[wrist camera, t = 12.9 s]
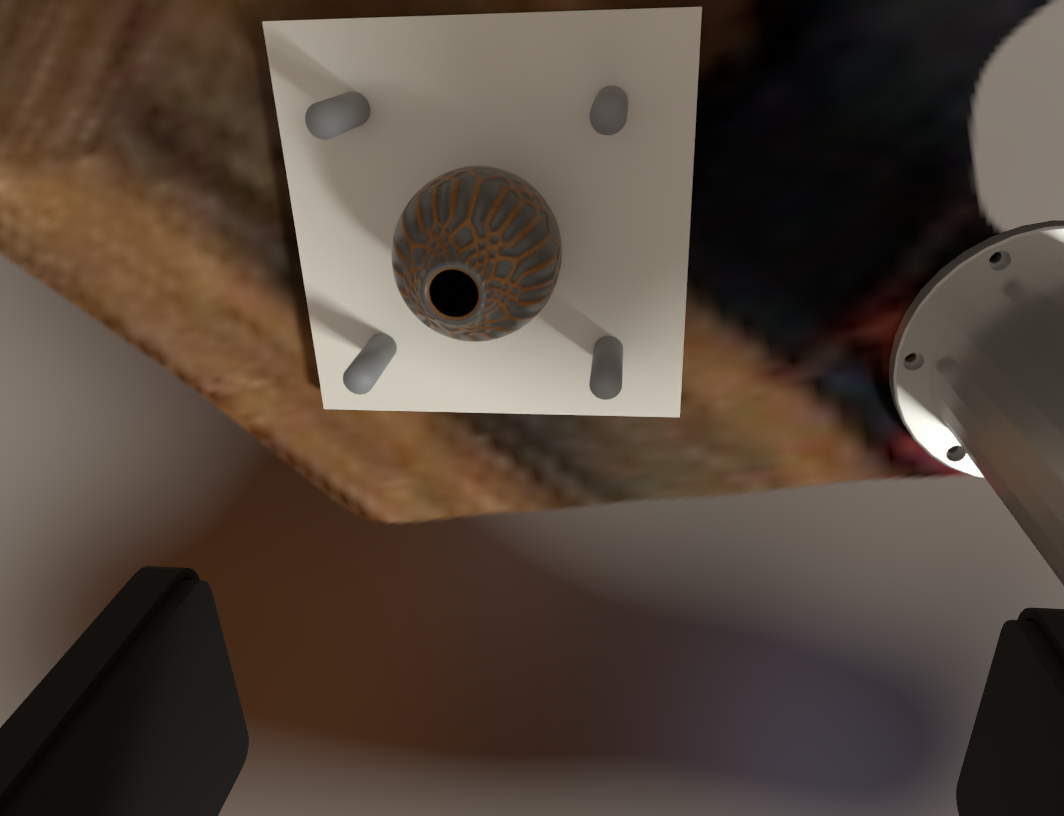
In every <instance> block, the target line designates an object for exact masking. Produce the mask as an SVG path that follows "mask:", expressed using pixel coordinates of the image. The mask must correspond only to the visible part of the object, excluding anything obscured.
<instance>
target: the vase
mask: <svg viewBox="0 0 1064 816" xmlns="http://www.w3.org/2000/svg"><path fill="white" fill-rule="evenodd" d="M561 262H562V242H561V235H560V230H559V226H558V223H557V220H556V218H555V216H554V214H553V212H552V210H551V208H550V206H549V205H548V203H547V202H546V200H545V199H544V198H543V197H542V195H541V194H540V193H539V192H538V191H537V190H536V189H535V188H534V187H533V186H532V185H530V184H529V183H528V182H527V181H525V180H524V179H522V178H520V177H519V176H517V175H515V174H513V173H511V172H508V171H505V170H502V169H499V168H494V167H488V166H467V167H462V168H458V169H454V170H451V171H449V172H446V173H444V174H442V175H440V176H438V177H436V178H434V179H433V180H431V181H430V182H429V183H427V184H426V185H425V186H423V187H422V188H421V189H420V190H419V191H418V192H417V193H416V194H415V195H414V196H413V197H412V199H411V200H410V201H409V202H408V204H407V205H406V207H405V208H404V210H403V212H402V214H401V216H400V218H399V220H398V223H397V225H396V228H395V232H394V236H393V242H392V268H393V274H394V278H395V282H396V285H397V288H398V290H399V293H400V295H401V297H402V299H403V300H404V302H405V303H406V305H407V306H408V308H409V309H410V310H411V312H412V313H413V314H414V315H415V316H416V317H417V318H418V319H419V320H420V321H421V322H422V323H424V324H425V325H426V326H427V327H429V328H430V329H432V330H434V331H436V332H437V333H439V334H442V335H444V336H446V337H449V338H453V339H456V340H461V341H469V342H481V341H489V340H494V339H498V338H501V337H504V336H507V335H509V334H511V333H513V332H515V331H517V330H519V329H520V328H522V327H523V326H525V325H526V324H528V323H529V322H530V321H531V320H532V319H534V318H535V317H536V316H537V315H538V313H539V312H540V311H541V310H542V309H543V308H544V306H545V305H546V304H547V302H548V300H549V299H550V297H551V295H552V293H553V291H554V289H555V286H556V284H557V281H558V277H559V273H560V268H561Z"/></svg>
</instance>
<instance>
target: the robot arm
mask: <svg viewBox="0 0 1064 816" xmlns="http://www.w3.org/2000/svg"><path fill="white" fill-rule="evenodd" d="M996 252H997V256H996V258H995V259H993V260H989V259H990V258H991V256H992V255H993V254H994V253H996ZM911 353H913V355H912V357H910V358H907V359H906V358H905V357H906V356H908V355H909V354H911ZM889 385H890V389H891V394H892V398H893V403H894V406H895V408H896V410H897V412H898V414H899V416H900V418H901V420H902V422H903V424H904V426H905V427H906V428H907V430H908V431H909V433H910V434H911V436H912V437H913V439H914V440H915V441H916V442H917V443H918V444H919V445H920V446H921V447H922V448H923V449H924V450H925V451H926V452H927V453H928V454H929V455H930V456H932V457H933V458H935V459H936V460H938V461H939V462H941V463H942V464H944V465H945V466H947V467H949V468H952V469H954V470H957V471H960V472H962V473H965V474H967V475H970V476H974V477H979V478H984V479H986V480H987V482H988V483H989V484H990V486H991V487H992V489H993V490H994V491H995V493H996V494H997V496H998V497H999V498H1000V499H1001V501H1002V502H1003V504H1004V505H1005V506H1006V508H1007V509H1008V511H1009V512H1010V513H1011V515H1012V516H1013V517H1014V519H1015V520H1016V522H1017V523H1018V524H1019V526H1020V527H1021V528H1022V530H1023V531H1024V532H1025V534H1026V535H1027V537H1028V538H1029V539H1030V541H1031V542H1032V543H1033V545H1034V546H1035V547H1036V549H1037V550H1038V552H1039V553H1040V554H1041V556H1042V557H1043V559H1044V560H1045V561H1046V563H1047V564H1048V565H1049V567H1050V568H1051V569H1052V571H1053V572H1054V574H1055V575H1056V576H1057V577H1058V579H1059V580H1060V582H1061V583H1062V584H1063V586H1064V221H1048V222H1043V223H1036V224H1031V225H1025V226H1021V227H1018V228H1015V229H1012V230H1009V231H1006V232H1003V233H1001V234H998V235H995V236H992V237H990V238H988V239H987V240H985V241H983V242H981V243H979V244H977V245H975V246H973V247H972V248H970V249H968V250H966V251H964V252H963V253H962V254H960V255H959V256H958V257H956V258H955V259H954V260H952V261H951V262H950V263H948V264H947V265H946V266H944V267H943V268H942V269H941V270H940V271H939V272H938V273H937V274H936V275H935V276H934V277H933V278H932V279H931V280H930V281H929V282H928V283H927V284H926V285H925V286H924V287H923V288H922V289H921V290H920V292H919V293H918V295H917V296H916V298H915V299H914V301H913V302H912V304H911V305H910V306H909V308H908V309H907V311H906V312H905V314H904V317H903V319H902V321H901V323H900V326H899V328H898V330H897V332H896V335H895V337H894V342H893V346H892V350H891V355H890V359H889ZM951 447H952V448H951ZM248 746H249V737H248V731H247V727H246V723H245V719H244V715H243V711H242V708H241V704H240V700H239V696H238V692H237V688H236V684H235V680H234V676H233V672H232V668H231V665H230V660H229V656H228V652H227V649H226V645H225V641H224V637H223V633H222V629H221V625H220V621H219V617H218V613H217V609H216V605H215V602H214V598H213V594H212V590H211V588H210V585H209V584H208V583H207V582H206V581H202V580H200V579H199V577H198V575H197V573H196V572H195V571H194V570H193V569H190V568H177V567H156V566H155V567H154V566H147V567H143V568H141V569H140V570H139V571H138V572H137V573H135V574H134V576H133V577H132V578H131V579H130V580H129V581H128V582H127V583H126V585H125V586H124V587H123V588H122V589H121V590H120V591H119V593H118V594H117V595H116V596H115V597H114V599H112V601H111V602H110V603H109V604H108V605H107V606H106V608H105V609H104V610H103V611H102V612H101V613H100V614H99V616H98V617H97V618H96V619H95V620H94V621H93V622H92V624H91V625H90V626H89V627H88V628H87V629H86V630H85V632H84V633H83V634H82V635H81V636H80V637H79V639H78V640H77V641H76V642H75V643H74V644H73V645H72V646H71V648H70V649H69V650H68V651H67V652H66V653H65V654H64V656H63V657H62V658H61V659H60V660H59V661H58V663H57V664H56V665H55V666H54V667H53V668H52V669H51V671H50V672H49V673H48V674H47V675H46V676H45V678H44V679H43V680H42V681H41V682H40V683H39V684H38V686H37V687H36V688H35V689H34V690H33V691H32V692H31V693H30V695H29V696H28V697H27V698H26V699H25V700H24V701H23V703H22V704H21V705H20V706H19V707H18V709H17V710H16V711H15V712H14V713H13V714H12V715H11V717H10V718H9V719H8V720H7V721H6V722H5V723H4V724H3V726H2V727H1V728H0V816H218V814H219V812H220V810H221V808H222V806H223V805H224V803H225V801H226V798H227V797H228V795H229V793H230V791H231V789H232V787H233V785H234V783H235V781H236V779H237V777H238V775H239V773H240V771H241V769H242V767H243V765H244V763H245V760H246V756H247V753H248ZM956 790H957V791H956V799H957V807H958V812H959V816H1064V609H1048V608H1026V609H1024V610H1023V611H1022V612H1021V613H1020V615H1019V617H1018V620H1009V621H1006V622H1005V623H1004V625H1003V627H1002V629H1001V633H1000V636H999V640H998V643H997V647H996V650H995V654H994V657H993V661H992V664H991V668H990V671H989V675H988V678H987V682H986V685H985V689H984V692H983V696H982V699H981V703H980V706H979V710H978V713H977V717H976V720H975V724H974V727H973V731H972V734H971V738H970V741H969V745H968V748H967V752H966V755H965V759H964V762H963V766H962V769H961V773H960V776H959V780H958V783H957V789H956Z"/></svg>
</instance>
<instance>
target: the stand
mask: <svg viewBox="0 0 1064 816" xmlns="http://www.w3.org/2000/svg"><path fill="white" fill-rule="evenodd" d="M701 17H702V7H673V8H643V9H613V10H583V11H553V12H523V13H493V14H463V15H433V16H403V17H373V18H343V19H313V20H282V21H263V22H262V24H263V30H264V36H265V43H266V49H267V55H268V61H269V68H270V74H271V80H272V86H273V93H274V99H275V105H276V111H277V118H278V124H279V130H280V137H281V143H282V149H283V155H284V162H285V168H286V174H287V180H288V187H289V193H290V199H291V205H292V212H293V218H294V224H295V230H296V237H297V243H298V249H299V256H300V262H301V268H302V274H303V281H304V287H305V293H306V299H307V306H308V312H309V318H310V324H311V331H312V337H313V343H314V349H315V356H316V362H317V368H318V375H319V381H320V387H321V393H322V400H323V406H324V409H342V410H385V411H428V412H471V413H514V414H558V415H601V416H644V417H680V402H681V384H682V366H683V347H684V329H685V311H686V292H687V274H688V256H689V237H690V219H691V201H692V182H693V164H694V146H695V127H696V109H697V91H698V72H699V54H700V36H701ZM467 166H488V167H494V168H499V169H502V170H505V171H508V172H511V173H513V174H515V175H517V176H519V177H520V178H522V179H524V180H525V181H527V182H528V183H529V184H530V185H532V186H533V187H534V188H535V189H536V190H537V191H538V192H539V193H540V194H541V195H542V197H543V198H544V199H545V200H546V202H547V203H548V205H549V206H550V208H551V210H552V212H553V214H554V216H555V218H556V220H557V223H558V226H559V230H560V235H561V242H562V262H561V268H560V273H559V277H558V281H557V284H556V286H555V289H554V291H553V293H552V295H551V297H550V299H549V300H548V302H547V304H546V305H545V306H544V308H543V309H542V310H541V311H540V312H539V313H538V315H537V316H536V317H535V318H534V319H532V320H531V321H530V322H529V323H528V324H526V325H525V326H523V327H522V328H520V329H519V330H517V331H515V332H513V333H511V334H509V335H507V336H504V337H501V338H498V339H494V340H489V341H481V342H469V341H461V340H456V339H453V338H449V337H446V336H444V335H442V334H439V333H437V332H436V331H434V330H432V329H430V328H429V327H427V326H426V325H425V324H424V323H422V322H421V321H420V320H419V319H418V318H417V317H416V316H415V315H414V314H413V313H412V312H411V310H410V309H409V308H408V306H407V305H406V303H405V302H404V300H403V299H402V297H401V295H400V293H399V290H398V288H397V285H396V282H395V278H394V274H393V268H392V242H393V236H394V232H395V228H396V225H397V223H398V220H399V218H400V216H401V214H402V212H403V210H404V208H405V207H406V205H407V204H408V202H409V201H410V200H411V199H412V197H413V196H414V195H415V194H416V193H417V192H418V191H419V190H420V189H421V188H422V187H423V186H425V185H426V184H427V183H429V182H430V181H431V180H433V179H434V178H436V177H438V176H440V175H442V174H444V173H446V172H449V171H451V170H454V169H458V168H462V167H467Z"/></svg>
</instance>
